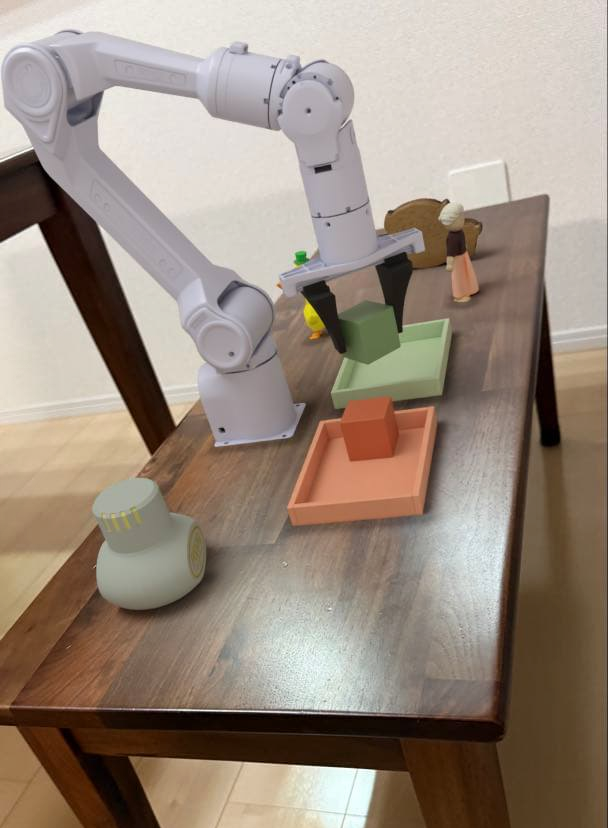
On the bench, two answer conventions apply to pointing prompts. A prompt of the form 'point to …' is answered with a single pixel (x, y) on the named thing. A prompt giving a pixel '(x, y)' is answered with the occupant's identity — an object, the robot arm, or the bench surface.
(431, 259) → the wooden carving
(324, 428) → the terracotta tray
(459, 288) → the grandmother figurine
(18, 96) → the robot arm
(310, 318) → the toy figure
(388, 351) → the sage block
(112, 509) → the air freshener
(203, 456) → the bench surface
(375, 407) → the terracotta block
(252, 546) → the bench surface
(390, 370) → the sage tray
